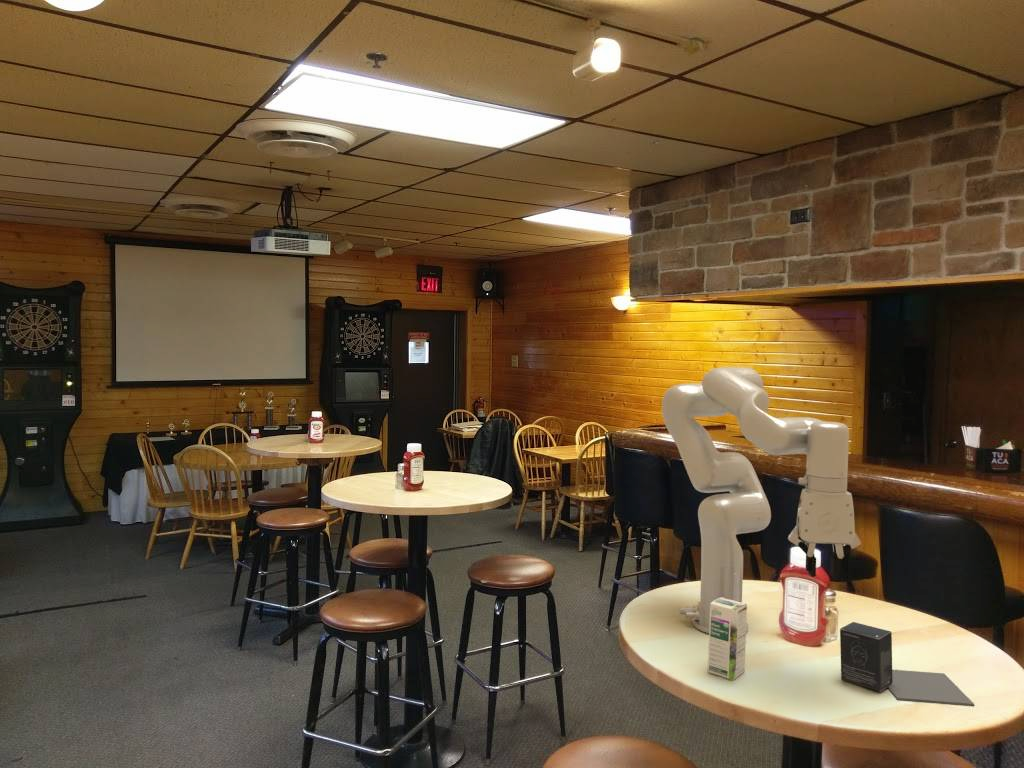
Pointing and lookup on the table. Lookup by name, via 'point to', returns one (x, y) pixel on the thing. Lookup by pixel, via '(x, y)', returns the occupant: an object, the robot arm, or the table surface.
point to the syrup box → (727, 638)
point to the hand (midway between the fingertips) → (822, 574)
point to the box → (866, 656)
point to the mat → (926, 688)
